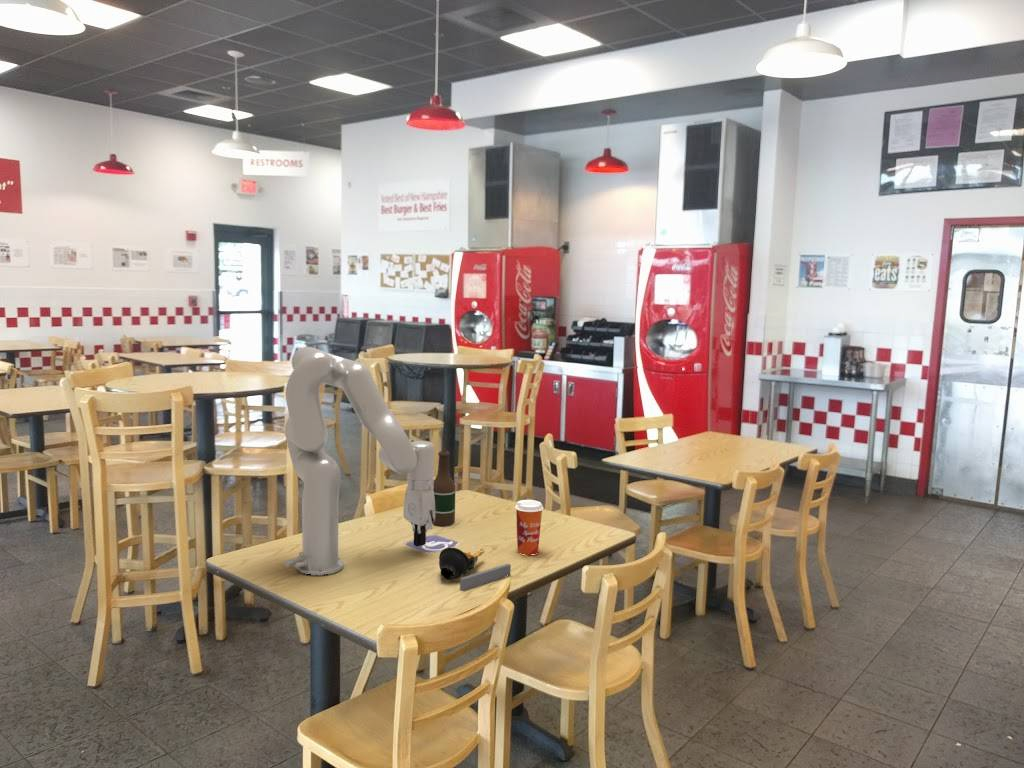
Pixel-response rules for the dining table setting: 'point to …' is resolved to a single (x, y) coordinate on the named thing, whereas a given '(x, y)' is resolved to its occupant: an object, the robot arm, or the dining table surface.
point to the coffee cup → (528, 526)
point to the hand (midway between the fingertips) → (419, 544)
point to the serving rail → (484, 577)
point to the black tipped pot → (457, 562)
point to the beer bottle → (444, 493)
